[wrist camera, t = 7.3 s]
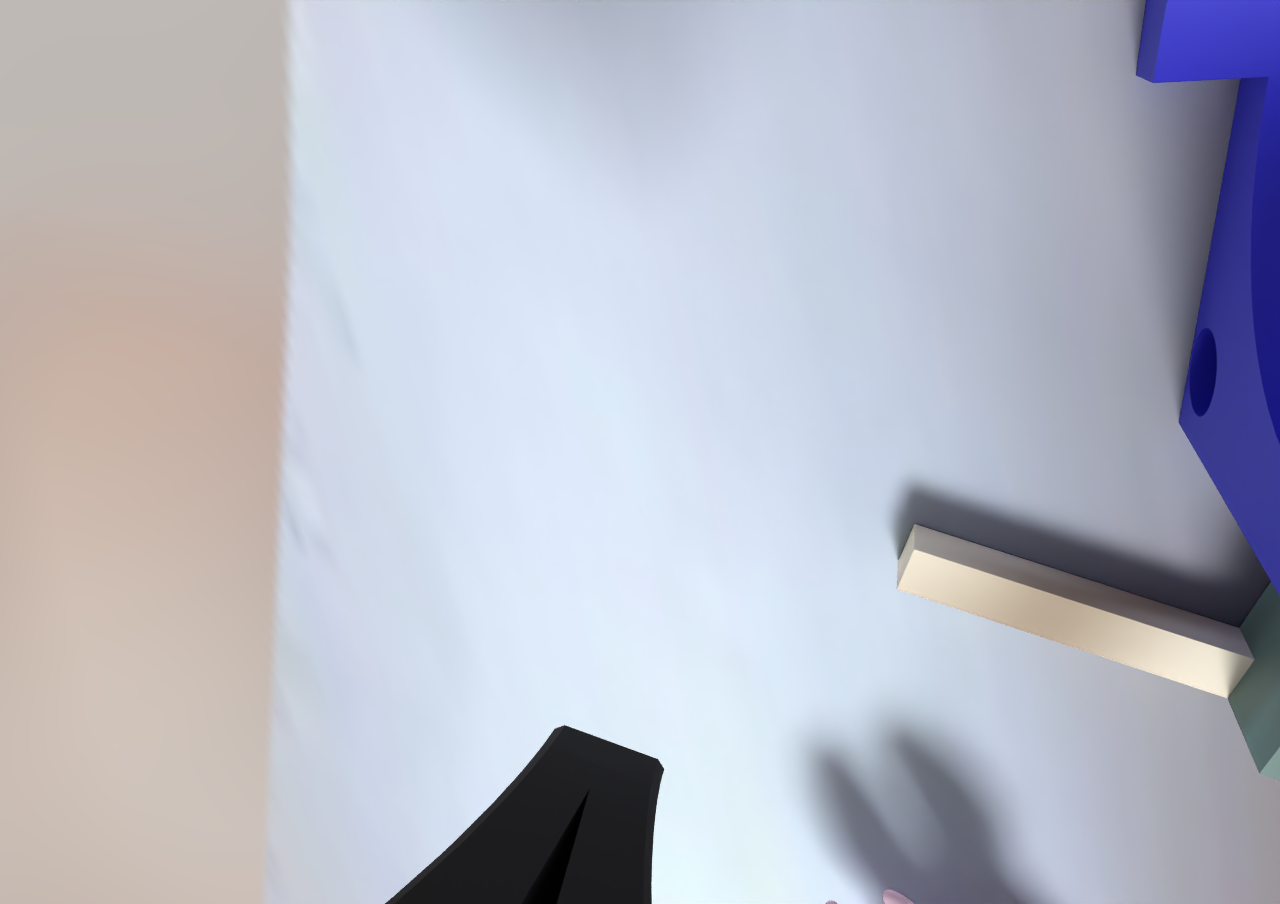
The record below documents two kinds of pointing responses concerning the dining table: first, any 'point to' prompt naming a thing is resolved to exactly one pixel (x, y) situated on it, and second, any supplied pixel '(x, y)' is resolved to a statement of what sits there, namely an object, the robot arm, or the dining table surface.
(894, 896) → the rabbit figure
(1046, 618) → the pin bay
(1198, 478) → the dining table surface
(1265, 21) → the cable clip
